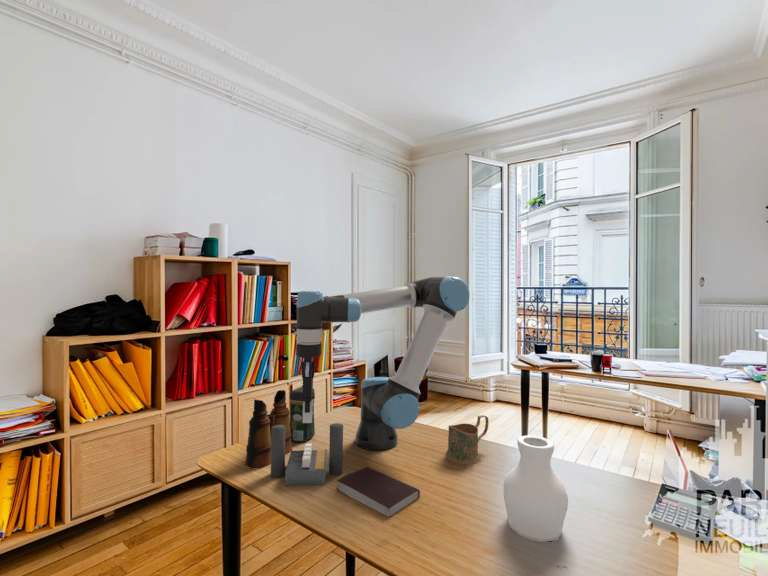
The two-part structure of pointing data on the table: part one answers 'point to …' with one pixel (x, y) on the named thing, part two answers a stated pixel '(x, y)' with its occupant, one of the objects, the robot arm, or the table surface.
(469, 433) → the weathered metal jug
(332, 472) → the post
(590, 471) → the table surface
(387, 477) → the book
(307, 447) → the row of white cubes
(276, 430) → the post
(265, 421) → the binoculars
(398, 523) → the table surface
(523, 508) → the vase
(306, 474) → the breaker box
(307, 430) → the coffee jar
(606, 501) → the table surface
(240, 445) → the table surface
